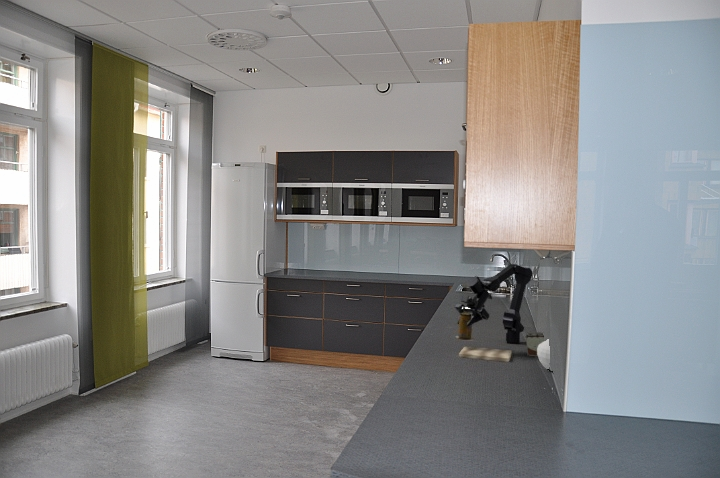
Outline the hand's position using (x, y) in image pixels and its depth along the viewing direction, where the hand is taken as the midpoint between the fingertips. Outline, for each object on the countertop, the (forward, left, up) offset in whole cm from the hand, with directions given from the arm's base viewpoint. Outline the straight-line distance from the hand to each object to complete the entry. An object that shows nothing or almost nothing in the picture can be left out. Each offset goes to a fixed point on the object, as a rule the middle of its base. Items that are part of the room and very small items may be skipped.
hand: (462, 324), depth 265 cm
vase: (-44, +19, -12) cm, 49 cm away
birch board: (-12, +5, -12) cm, 18 cm away
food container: (-34, -7, -12) cm, 37 cm away
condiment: (-1, -1, -7) cm, 7 cm away
